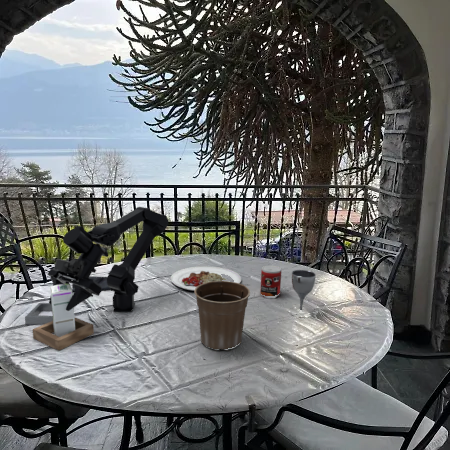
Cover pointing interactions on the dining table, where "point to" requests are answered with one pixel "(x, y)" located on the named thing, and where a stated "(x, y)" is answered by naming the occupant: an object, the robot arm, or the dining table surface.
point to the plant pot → (221, 313)
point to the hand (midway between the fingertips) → (58, 307)
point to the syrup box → (62, 309)
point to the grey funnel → (303, 283)
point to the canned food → (270, 280)
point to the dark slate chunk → (100, 280)
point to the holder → (35, 319)
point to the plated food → (201, 276)
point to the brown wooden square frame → (64, 341)
